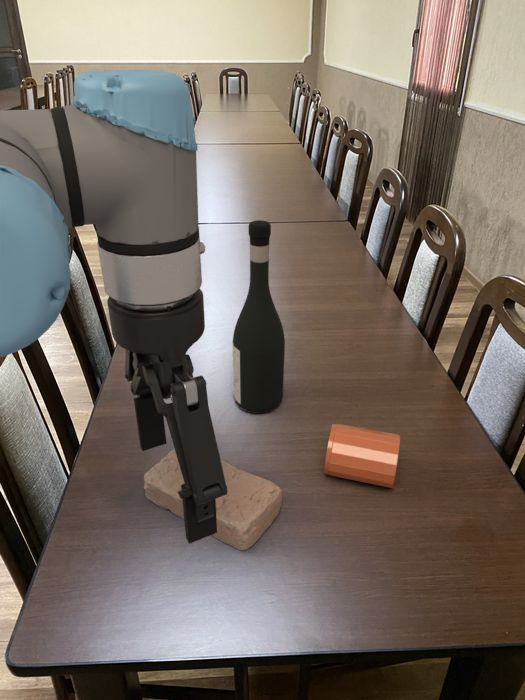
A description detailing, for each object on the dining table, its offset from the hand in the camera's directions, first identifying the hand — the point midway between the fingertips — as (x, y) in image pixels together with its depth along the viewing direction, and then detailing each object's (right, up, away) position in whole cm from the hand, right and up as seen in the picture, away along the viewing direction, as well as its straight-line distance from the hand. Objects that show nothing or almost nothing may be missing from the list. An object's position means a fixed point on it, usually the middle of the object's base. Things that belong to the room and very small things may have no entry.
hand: (175, 486), depth 53 cm
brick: (+2, -7, +16) cm, 17 cm away
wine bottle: (+8, +5, +35) cm, 36 cm away
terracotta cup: (+18, 0, +20) cm, 27 cm away
